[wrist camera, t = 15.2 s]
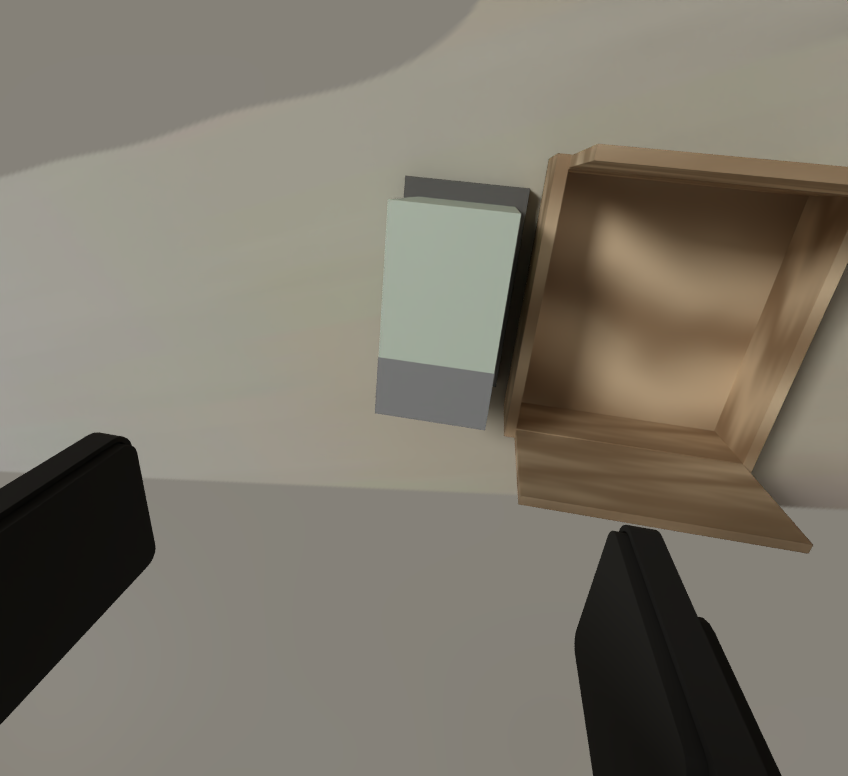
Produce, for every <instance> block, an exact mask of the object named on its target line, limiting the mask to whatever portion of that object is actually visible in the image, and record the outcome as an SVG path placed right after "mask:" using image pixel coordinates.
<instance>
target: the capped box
mask: <svg viewBox="0 0 848 776" xmlns="http://www.w3.org/2000/svg"><path fill="white" fill-rule="evenodd" d="M520 218H521V213H520V212H519V211H518V209H517V208H516V207H512V206H503V205H493V204H484V203H475V202H465V201H456V200H447V199H438V198H428V197H419V196H418V197H408V198H397V199H388V208H387V225H386V242H385V259H384V276H383V293H382V310H381V327H380V344H379V357H378V370H377V387H376V404H375V413H377V414H384V415H390V416H396V417H403V418H409V419H416V420H422V421H428V422H435V423H441V424H448V425H454V426H461V427H467V428H473V429H480V430H485V427H486V421H487V415H488V409H489V404H490V398H491V392H492V386H493V380H494V374H495V365H496V360H497V354H498V348H499V342H500V336H501V330H502V324H503V318H504V312H505V306H506V301H507V295H508V289H509V283H510V277H511V271H512V265H513V259H514V253H515V247H516V242H517V236H518V230H519V224H520Z"/></svg>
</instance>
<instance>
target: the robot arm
mask: <svg viewBox="0 0 848 776" xmlns="http://www.w3.org/2000/svg"><path fill="white" fill-rule="evenodd" d="M154 554H155V541H154V536H153V532H152V526H151V521H150V516H149V511H148V506H147V501H146V496H145V491H144V485H143V480H142V475H141V470H140V465H139V460H138V455H137V451H136V449H135V448H134V447H133V446H132V445H131V442H130V441H129V440H128V439H127V438H125V437H122V436H116V435H110V434H105V433H92V434H90V435H88V436H86V437H84V438H83V439H81V440H79V441H78V442H76V443H74V444H73V445H71V446H69V447H68V448H66V449H65V450H63V451H61V452H60V453H58V454H56V455H55V456H53V457H51V458H50V459H48V460H46V461H45V462H43V463H41V464H40V465H38V466H37V467H35V468H33V469H32V470H30V471H28V472H27V473H25V474H23V475H22V476H20V477H18V478H17V479H15V480H14V481H12V482H10V483H9V484H7V485H5V486H4V487H2V488H0V724H1V723H2V722H3V721H4V720H5V719H6V718H7V717H8V716H9V715H10V714H11V713H12V711H13V710H14V709H15V708H16V707H17V706H18V705H19V704H20V703H21V702H22V701H23V700H24V699H25V698H26V696H27V695H28V694H29V693H30V692H31V691H32V690H33V689H34V688H35V687H36V686H37V685H38V683H40V681H41V680H42V679H43V678H44V677H45V676H46V675H47V674H48V673H49V672H50V671H51V670H52V669H53V667H54V666H55V665H56V664H57V663H58V662H59V661H60V660H61V659H62V658H63V657H64V656H65V655H66V653H67V652H68V651H69V650H70V649H71V648H72V647H73V646H74V645H75V644H76V643H77V642H78V641H79V640H80V638H81V637H82V636H83V635H84V634H85V633H86V632H87V631H88V630H89V629H90V628H91V627H92V625H93V624H94V623H95V622H96V621H97V620H98V619H99V618H100V617H101V616H102V615H103V614H104V613H105V612H106V610H107V609H108V608H109V607H110V606H111V605H112V604H113V603H114V602H115V601H116V600H117V599H118V597H120V595H121V594H122V593H123V592H124V591H125V590H126V589H127V588H128V587H129V586H130V585H131V584H132V583H133V581H134V580H135V579H136V578H137V577H138V576H139V575H140V574H141V573H142V572H143V570H145V569H146V567H147V566H148V565H149V564H150V562H151V561H152V559H153V556H154ZM575 656H576V664H577V670H578V677H579V684H580V690H581V697H582V703H583V710H584V717H585V724H586V730H587V737H588V744H589V750H590V757H591V763H592V770H593V776H781V774H780V772H779V769H778V767H777V765H776V763H775V761H774V759H773V757H772V754H771V752H770V750H769V748H768V746H767V744H766V741H765V739H764V738H763V735H762V733H761V731H760V729H759V726H758V724H757V722H756V720H755V718H754V716H753V714H752V711H751V709H750V707H749V705H748V703H747V701H746V699H745V696H744V694H743V692H742V690H741V688H740V686H739V684H738V681H737V679H736V677H735V675H734V673H733V671H732V669H731V666H730V665H729V662H728V660H727V658H726V656H725V654H724V652H723V649H722V647H721V645H720V643H719V641H718V639H717V636H716V634H715V632H714V631H713V629H712V627H711V626H710V624H709V623H708V622H707V621H706V620H705V619H704V618H701V617H697V614H696V612H695V610H694V608H693V605H692V603H691V601H690V598H689V596H688V594H687V592H686V589H685V587H684V585H683V583H682V580H681V578H680V576H679V574H678V572H677V569H676V567H675V565H674V563H673V560H672V558H671V556H670V553H669V551H668V549H667V547H666V544H665V542H664V540H663V538H662V536H661V534H660V533H659V532H658V531H657V530H653V529H646V528H641V527H636V526H630V525H623V526H622V527H621V528H620V531H619V532H616V531H611V532H610V533H609V535H608V538H607V540H606V543H605V546H604V549H603V552H602V555H601V559H600V561H599V564H598V567H597V570H596V573H595V576H594V579H593V582H592V585H591V589H590V591H589V594H588V597H587V600H586V603H585V606H584V609H583V612H582V615H581V618H580V621H579V624H578V627H577V630H576V634H575Z"/></svg>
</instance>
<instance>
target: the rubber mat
mask: <svg viewBox="0 0 848 776" xmlns="http://www.w3.org/2000/svg"><path fill="white" fill-rule="evenodd" d="M529 192H530V189H529V188H519V187H509V186H500V185H490V184H480V183H471V182H461V181H451V180H442V179H432V178H422V177H413V176H405V187H404V198H408V197H418V196H419V197H428V198H438V199H447V200H456V201H465V202H475V203H484V204H493V205H503V206H512V207H516V208H517V209H518V211H519V212H520V213H521V218H520V224H519V230H518V236H517V242H516V247H515V253H514V259H513V265H512V271H511V277H510V283H509V289H508V295H507V301H506V306H505V312H504V318H503V324H502V330H501V336H500V342H499V348H498V354H497V360H496V365H495V374H494V380H493V387H496V383H497V377H498V371H499V365H500V359H501V354H502V348H503V342H504V336H505V331H506V325H507V319H508V313H509V308H510V302H511V296H512V290H513V284H514V279H515V273H516V267H517V261H518V256H519V250H520V244H521V238H522V232H523V227H524V221H525V215H526V209H527V204H528V198H529Z"/></svg>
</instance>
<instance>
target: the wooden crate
mask: <svg viewBox="0 0 848 776" xmlns="http://www.w3.org/2000/svg"><path fill="white" fill-rule="evenodd" d="M847 263H848V167H842V166H832V165H821V164H810V163H799V162H788V161H778V160H767V159H756V158H745V157H734V156H724V155H713V154H702V153H691V152H680V151H670V150H659V149H648V148H637V147H626V146H615V145H605V144H596V145H594V146H592V147H590V148H588V149H585V150H583V151H581V152H579V153H576V154H574V155H570V154H560V153H558V154H556V155H555V156H553V157H551V158H550V159H549V162H548V167H547V172H546V178H545V183H544V189H543V194H542V200H541V205H540V210H539V216H538V221H537V227H536V232H535V238H534V243H533V248H532V254H531V259H530V265H529V270H528V276H527V281H526V286H525V292H524V297H523V303H522V308H521V314H520V319H519V324H518V330H517V335H516V341H515V346H514V352H513V357H512V362H511V368H510V373H509V379H508V384H507V390H506V395H505V400H504V436H508V437H514V438H515V453H516V470H517V488H518V504H520V505H526V506H532V507H538V508H544V509H549V510H556V511H561V512H567V513H573V514H579V515H585V516H590V517H597V518H602V519H608V520H614V521H620V522H626V523H632V524H638V525H644V526H649V527H655V528H661V529H667V530H673V531H678V532H684V533H690V534H696V535H702V536H708V537H714V538H720V539H726V540H731V541H737V542H744V543H749V544H755V545H761V546H767V547H772V548H779V549H784V550H790V551H797V552H802V553H809V552H810V550H811V548H812V546H813V544H812V543H811V542H810V541H809V539H808V538H807V537H806V536H805V535H804V534H803V533H802V532H801V530H800V529H799V528H798V527H797V526H796V525H795V523H794V522H793V521H792V520H791V519H790V518H789V517H788V516H787V514H786V513H785V512H784V511H783V510H782V509H781V507H780V506H779V505H778V504H777V503H776V502H775V501H774V499H773V498H772V497H771V496H770V495H769V494H768V493H767V492H766V490H765V489H764V488H763V487H762V486H761V485H760V484H759V482H758V481H757V480H756V479H755V478H754V477H753V476H752V474H751V472H752V470H753V468H754V465H755V463H756V461H757V459H758V457H759V454H760V452H761V450H762V448H763V446H764V444H765V441H766V439H767V437H768V435H769V433H770V431H771V428H772V426H773V424H774V422H775V420H776V417H777V415H778V413H779V411H780V409H781V407H782V404H783V402H784V400H785V398H786V396H787V394H788V391H789V389H790V387H791V385H792V383H793V380H794V378H795V376H796V374H797V372H798V370H799V367H800V365H801V363H802V361H803V359H804V357H805V354H806V352H807V350H808V348H809V346H810V343H811V341H812V339H813V337H814V335H815V333H816V330H817V328H818V326H819V324H820V322H821V320H822V317H823V315H824V313H825V311H826V309H827V306H828V304H829V302H830V300H831V298H832V296H833V293H834V291H835V289H836V287H837V285H838V283H839V280H840V278H841V276H842V274H843V272H844V269H845V267H846V265H847Z"/></svg>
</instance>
